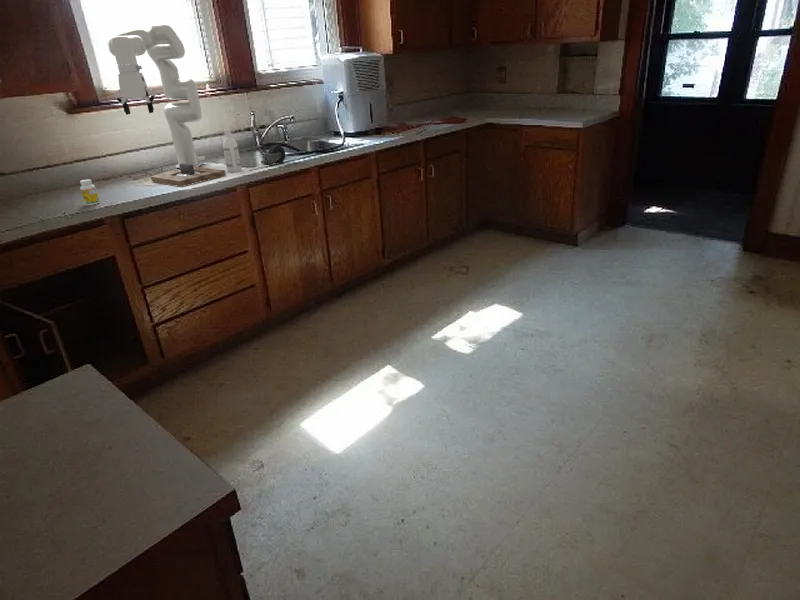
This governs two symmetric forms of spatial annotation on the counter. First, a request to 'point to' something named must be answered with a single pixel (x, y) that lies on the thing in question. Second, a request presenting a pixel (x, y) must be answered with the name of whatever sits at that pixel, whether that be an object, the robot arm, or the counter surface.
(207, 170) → the brown wooden square frame
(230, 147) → the bath foam
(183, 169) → the dial
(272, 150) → the caster wheel
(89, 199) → the supplement bottle
